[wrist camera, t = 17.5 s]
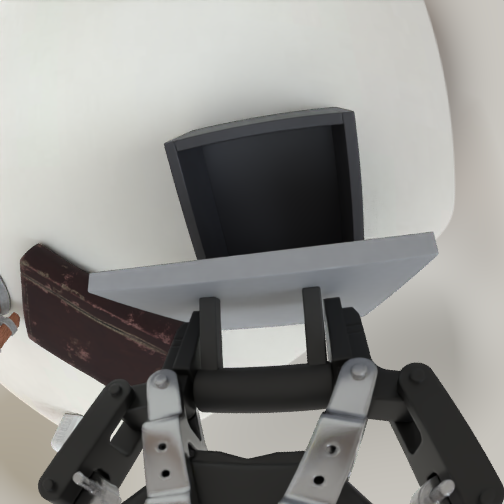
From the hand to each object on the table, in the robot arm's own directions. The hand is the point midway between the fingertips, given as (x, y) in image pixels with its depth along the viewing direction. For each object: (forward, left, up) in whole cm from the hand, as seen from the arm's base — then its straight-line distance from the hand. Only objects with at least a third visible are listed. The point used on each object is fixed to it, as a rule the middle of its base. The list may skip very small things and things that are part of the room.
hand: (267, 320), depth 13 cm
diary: (+26, +14, -16) cm, 34 cm away
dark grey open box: (0, 0, -16) cm, 16 cm away
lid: (0, +2, -4) cm, 4 cm away
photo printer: (+59, +48, -16) cm, 78 cm away
